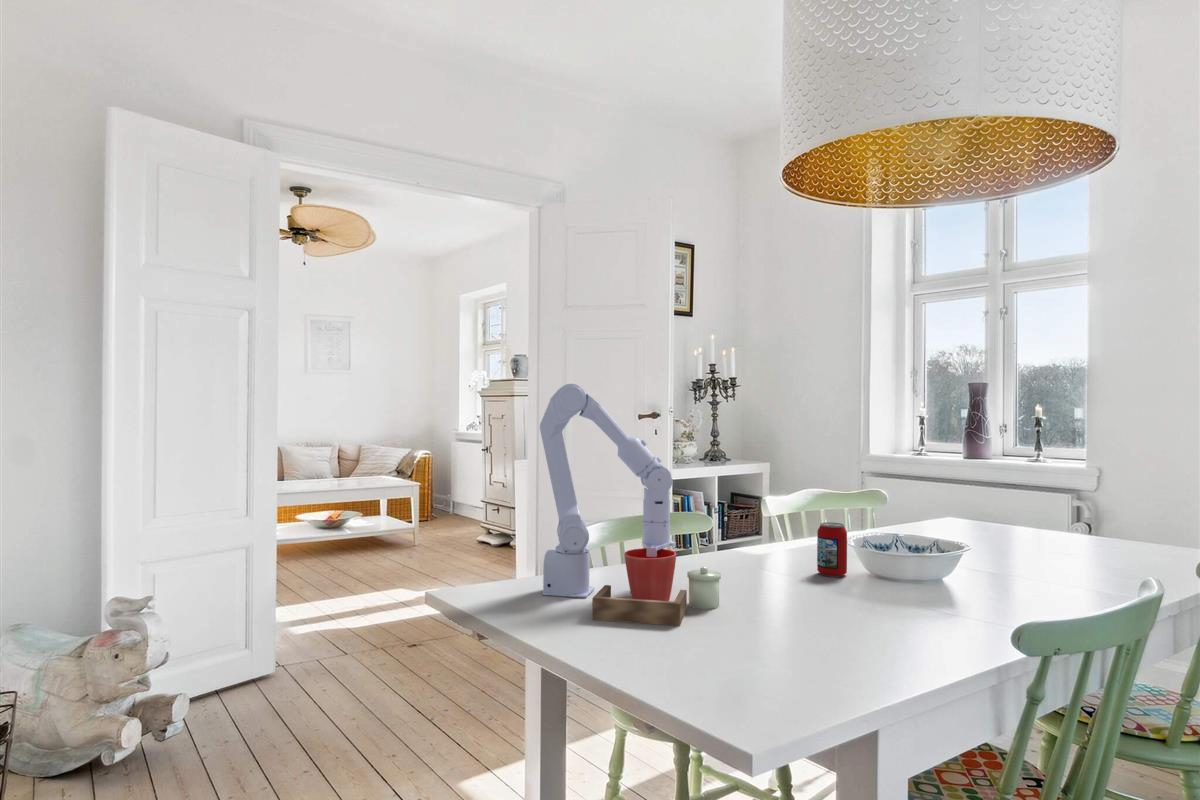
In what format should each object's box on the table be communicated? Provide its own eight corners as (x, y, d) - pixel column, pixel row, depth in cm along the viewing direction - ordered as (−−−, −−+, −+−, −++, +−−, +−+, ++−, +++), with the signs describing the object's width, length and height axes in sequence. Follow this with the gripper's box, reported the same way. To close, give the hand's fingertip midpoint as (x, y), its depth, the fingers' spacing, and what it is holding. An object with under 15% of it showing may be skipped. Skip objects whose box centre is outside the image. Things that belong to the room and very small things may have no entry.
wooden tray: (592, 619, 139) (592, 597, 139) (604, 605, 150) (605, 584, 150) (679, 625, 136) (679, 603, 136) (686, 610, 146) (686, 590, 146)
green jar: (685, 608, 148) (685, 569, 148) (689, 600, 154) (689, 562, 154) (719, 610, 146) (719, 571, 146) (721, 602, 153) (721, 564, 153)
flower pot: (614, 602, 152) (614, 554, 152) (638, 591, 161) (638, 545, 161) (662, 610, 146) (662, 559, 146) (684, 597, 156) (684, 550, 156)
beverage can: (811, 573, 181) (811, 522, 181) (833, 570, 184) (833, 521, 184) (830, 578, 175) (831, 526, 175) (853, 576, 178) (853, 525, 178)
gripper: (670, 526, 153) (670, 593, 153) (679, 516, 167) (679, 578, 167) (636, 525, 155) (636, 591, 155) (647, 515, 169) (647, 576, 169)
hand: (656, 584), depth 161 cm, fingers closed
